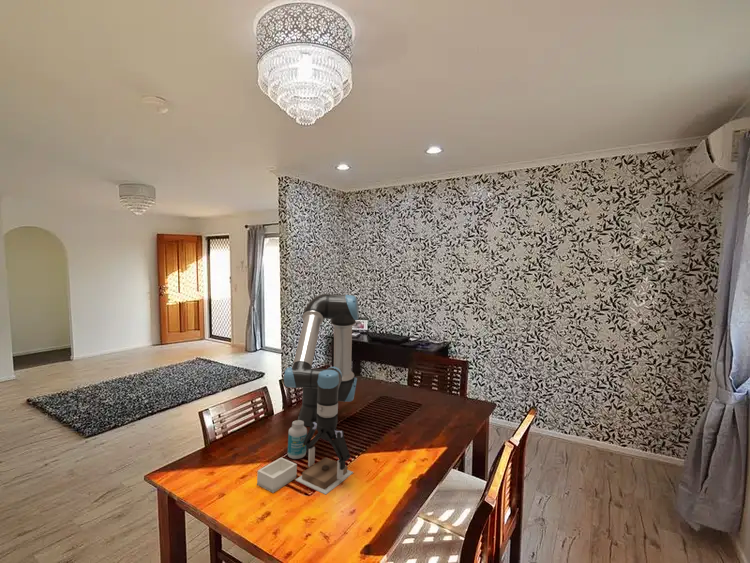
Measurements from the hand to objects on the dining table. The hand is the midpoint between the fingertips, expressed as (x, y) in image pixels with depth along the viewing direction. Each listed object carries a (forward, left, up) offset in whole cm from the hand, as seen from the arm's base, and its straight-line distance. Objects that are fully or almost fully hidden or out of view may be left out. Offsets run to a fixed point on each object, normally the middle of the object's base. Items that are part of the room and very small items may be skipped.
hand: (325, 471), depth 132 cm
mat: (0, 0, -2) cm, 2 cm away
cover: (0, 0, -2) cm, 2 cm away
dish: (-12, -12, -2) cm, 17 cm away
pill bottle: (-19, +5, -2) cm, 20 cm away
